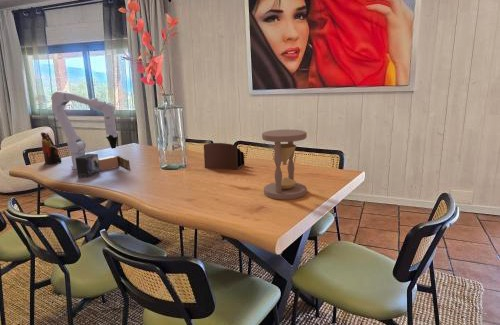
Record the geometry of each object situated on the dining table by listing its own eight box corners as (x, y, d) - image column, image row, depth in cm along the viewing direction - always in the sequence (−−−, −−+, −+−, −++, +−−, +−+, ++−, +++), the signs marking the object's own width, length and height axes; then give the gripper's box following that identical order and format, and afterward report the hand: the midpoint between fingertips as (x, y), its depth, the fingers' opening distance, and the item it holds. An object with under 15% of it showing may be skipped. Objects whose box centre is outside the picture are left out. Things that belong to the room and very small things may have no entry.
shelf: (95, 168, 197) (94, 159, 196) (120, 163, 205) (119, 155, 204) (103, 173, 184) (102, 164, 183) (130, 168, 192) (129, 160, 191)
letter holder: (237, 170, 180) (236, 143, 177) (204, 168, 187) (202, 142, 184) (244, 165, 189) (243, 140, 186) (212, 163, 196) (211, 139, 193)
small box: (88, 177, 177) (85, 158, 175) (77, 177, 179) (74, 157, 176) (101, 172, 187) (98, 153, 185) (90, 172, 189) (87, 153, 186)
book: (97, 169, 195) (96, 159, 193) (114, 165, 201) (113, 155, 200) (101, 170, 191) (99, 160, 190) (118, 167, 198) (117, 156, 197)
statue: (62, 162, 215) (57, 131, 210) (49, 165, 209) (43, 133, 205) (55, 160, 223) (49, 130, 218) (42, 162, 217) (36, 131, 212)
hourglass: (290, 203, 129) (289, 137, 123) (255, 194, 140) (252, 134, 134) (314, 190, 142) (314, 130, 136) (280, 183, 153) (279, 128, 147)
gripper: (121, 125, 192) (124, 148, 195) (113, 123, 203) (116, 145, 207) (108, 126, 188) (111, 150, 191) (101, 124, 199) (104, 147, 202)
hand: (113, 148), depth 199 cm, fingers closed
